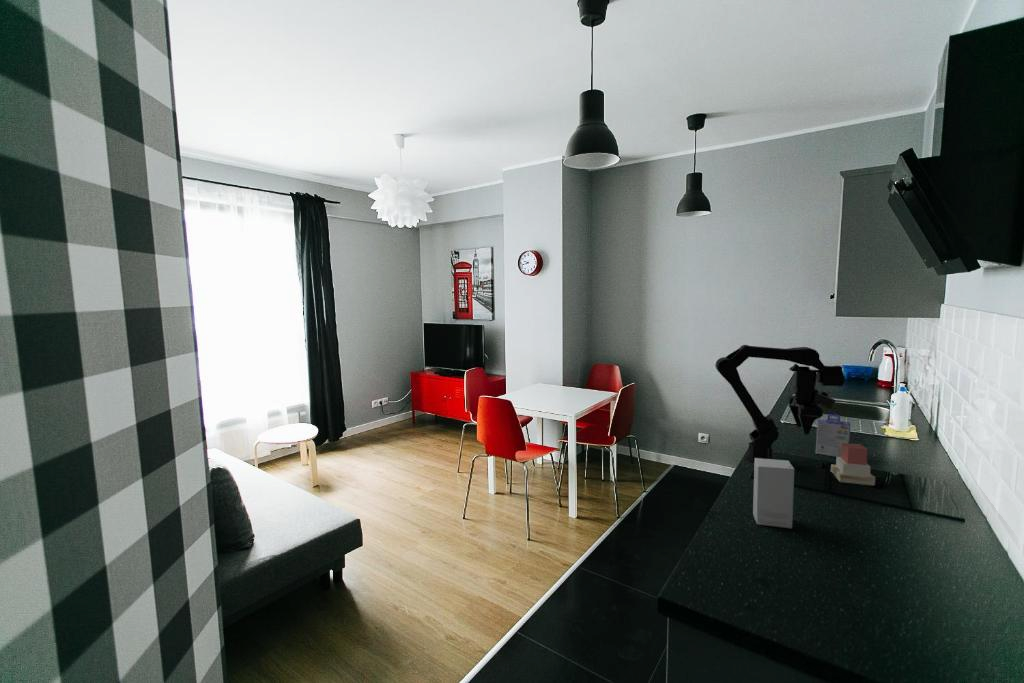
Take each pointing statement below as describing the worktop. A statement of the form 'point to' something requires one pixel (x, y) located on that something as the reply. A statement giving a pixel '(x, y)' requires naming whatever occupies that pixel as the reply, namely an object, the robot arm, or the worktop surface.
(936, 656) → the worktop surface
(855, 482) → the tower base
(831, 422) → the ink cartridge box
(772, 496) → the skincare box
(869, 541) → the worktop surface
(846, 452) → the red cube
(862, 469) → the tower top
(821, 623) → the worktop surface
